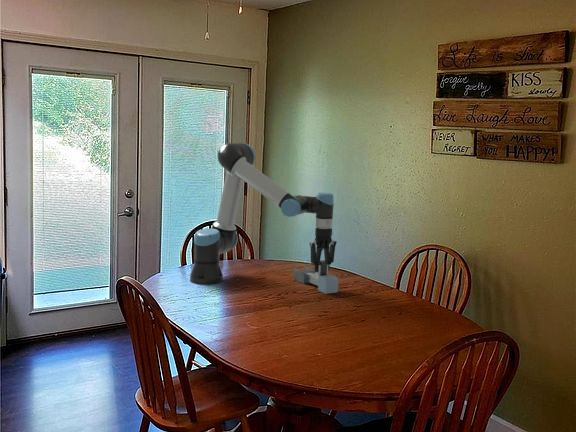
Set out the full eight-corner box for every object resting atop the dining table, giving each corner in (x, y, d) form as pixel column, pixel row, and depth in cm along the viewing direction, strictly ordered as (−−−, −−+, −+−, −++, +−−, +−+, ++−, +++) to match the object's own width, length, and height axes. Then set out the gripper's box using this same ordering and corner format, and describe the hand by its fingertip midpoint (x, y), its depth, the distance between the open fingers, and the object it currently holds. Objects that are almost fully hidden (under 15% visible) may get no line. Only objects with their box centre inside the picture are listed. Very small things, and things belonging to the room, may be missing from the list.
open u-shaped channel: (294, 279, 283) (294, 268, 282) (305, 278, 286) (306, 267, 285) (303, 283, 275) (304, 272, 274) (315, 282, 278) (316, 271, 278)
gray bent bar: (305, 280, 277) (306, 256, 275) (311, 279, 279) (312, 255, 277) (324, 289, 263) (325, 264, 261) (331, 288, 265) (332, 263, 263)
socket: (318, 290, 265) (318, 276, 264) (330, 288, 268) (330, 274, 267) (325, 293, 260) (326, 279, 259) (337, 292, 263) (338, 277, 262)
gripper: (312, 229, 257) (310, 282, 261) (343, 227, 266) (341, 278, 269) (303, 227, 264) (301, 278, 267) (334, 225, 272) (331, 274, 275)
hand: (321, 278), depth 268 cm, fingers closed on gray bent bar, 3 cm apart
